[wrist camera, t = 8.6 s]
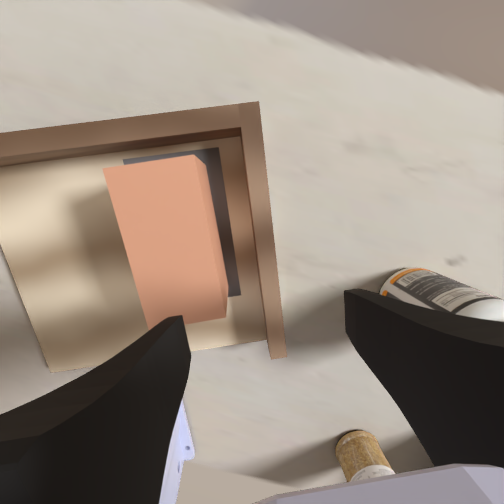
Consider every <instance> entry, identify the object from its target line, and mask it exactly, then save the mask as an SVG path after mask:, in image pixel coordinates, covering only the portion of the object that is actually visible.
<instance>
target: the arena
mask: <svg viewBox="0 0 504 504" xmlns="http://www.w3.org/2000/svg"><path fill="white" fill-rule="evenodd" d="M187 155H195V156H196V157H197V158H198V159H200V160H201V161H202V162H203V163H204V164H205V165H206V168H207V174H208V179H209V184H210V190H211V195H212V200H213V206H214V211H215V216H216V222H217V227H218V232H219V238H220V243H221V248H222V254H223V259H224V264H225V270H226V275H227V280H228V299H227V312H226V318H221V319H215V320H209V321H203V322H198V323H192V324H186V325H185V329H186V334H187V338H188V343H189V348H190V351H196V350H203V349H209V348H216V347H222V346H229V345H235V344H242V343H248V342H255V341H261V340H267V343H268V348H269V352H270V357H271V359H277V358H283V357H287V352H286V343H285V334H284V325H283V316H282V307H281V298H280V289H279V279H278V270H277V261H276V252H275V243H274V234H273V225H272V216H271V207H270V198H269V188H268V179H267V170H266V161H265V152H264V143H263V134H262V125H261V116H260V107H259V101H257V102H249V103H241V104H233V105H224V106H216V107H208V108H200V109H192V110H184V111H176V112H168V113H159V114H151V115H143V116H135V117H127V118H119V119H111V120H102V121H94V122H86V123H78V124H70V125H62V126H54V127H46V128H37V129H29V130H21V131H13V132H5V133H0V245H1V247H2V250H3V252H4V255H5V257H6V260H7V263H8V265H9V268H10V270H11V273H12V275H13V278H14V280H15V283H16V285H17V288H18V291H19V293H20V296H21V298H22V301H23V303H24V306H25V308H26V311H27V313H28V316H29V319H30V321H31V324H32V326H33V329H34V331H35V334H36V336H37V339H38V341H39V344H40V347H41V349H42V352H43V354H44V357H45V359H46V362H47V364H48V367H49V369H50V372H51V373H53V372H60V371H66V370H73V369H79V368H86V367H92V366H99V365H101V364H102V363H104V362H106V361H107V360H109V359H110V358H112V357H113V356H115V355H116V354H118V353H119V352H120V351H122V350H123V349H125V348H126V347H128V346H129V345H130V344H132V343H133V342H135V341H136V340H137V339H139V338H140V337H141V336H143V335H144V334H145V333H146V332H148V331H149V329H148V326H147V322H146V319H145V315H144V312H143V308H142V305H141V301H140V298H139V294H138V291H137V288H136V284H135V281H134V277H133V274H132V270H131V267H130V263H129V260H128V256H127V253H126V249H125V246H124V242H123V239H122V235H121V232H120V228H119V225H118V222H117V218H116V215H115V211H114V208H113V204H112V201H111V197H110V194H109V190H108V187H107V183H106V180H105V176H104V173H103V169H102V168H108V167H115V166H121V165H128V164H134V163H141V162H147V161H154V160H161V159H167V158H174V157H180V156H187Z"/></svg>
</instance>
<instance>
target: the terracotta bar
mask: <svg viewBox="0 0 504 504" xmlns="http://www.w3.org/2000/svg"><path fill="white" fill-rule="evenodd" d="M102 169H103V173H104V176H105V180H106V183H107V187H108V190H109V194H110V197H111V201H112V204H113V208H114V211H115V215H116V218H117V222H118V225H119V228H120V232H121V235H122V239H123V242H124V246H125V249H126V253H127V256H128V260H129V263H130V267H131V270H132V274H133V277H134V281H135V284H136V288H137V291H138V294H139V298H140V301H141V305H142V308H143V312H144V315H145V319H146V322H147V326H148V329H149V330H150V329H152V328H153V327H154V326H156V325H157V324H158V323H160V322H161V321H162V320H164V319H166V318H167V317H171V316H178V315H182V316H183V320H184V325H186V324H192V323H198V322H203V321H209V320H215V319H221V318H226V312H227V299H228V280H227V275H226V270H225V264H224V259H223V254H222V248H221V243H220V238H219V232H218V227H217V222H216V216H215V211H214V206H213V200H212V195H211V190H210V184H209V179H208V174H207V168H206V165H205V164H204V163H203V162H202V161H201V160H200V159H198V158H197V157H196V156H195V155H187V156H180V157H174V158H167V159H161V160H154V161H147V162H141V163H134V164H128V165H121V166H115V167H108V168H102Z"/></svg>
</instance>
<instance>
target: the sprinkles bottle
mask: <svg viewBox="0 0 504 504" xmlns="http://www.w3.org/2000/svg"><path fill="white" fill-rule="evenodd" d="M335 453H336V457H337V459H338V461H339V463H340V464H341V467H342V469H343V472H344V474H345V477H346V480H347V482H352V481H357V480H363V479H369V478H375V477H380V476H386V475H392V474H395V472H394V471H393V470H392V468H391V466H390V464H389V463H388V461H387V459H386V458H385V456H384V454H383V452H382V450H381V449H380V447H379V444H378V441H377V440H376V438H375V436H373V435H372V434H370V433H368V432H366V431H354V432H350V433H348V434H346V435H344V436H343V437H342V438H341V439H340V440H339V442H338V443H337V446H336V449H335Z"/></svg>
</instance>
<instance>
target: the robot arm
mask: <svg viewBox="0 0 504 504" xmlns="http://www.w3.org/2000/svg"><path fill="white" fill-rule="evenodd" d="M344 302H345V327H346V333H347V335H348V337H349V339H350V340H351V342H352V344H353V346H354V347H355V349H356V351H357V352H358V353H359V355H360V356H361V357H362V359H363V360H364V361H365V363H366V364H367V365H368V367H369V368H370V369H371V371H372V372H373V373H374V375H375V376H376V377H377V378H378V380H379V381H380V382H381V384H382V385H383V386H384V388H385V389H386V390H387V391H388V393H389V394H390V395H391V397H392V398H393V400H394V401H395V402H396V404H397V405H398V407H399V408H400V410H401V411H402V413H403V415H404V416H405V418H406V419H407V421H408V422H409V424H410V426H411V427H412V429H413V430H414V432H415V434H416V435H417V437H418V439H419V440H420V442H421V444H422V445H423V447H424V449H425V450H426V452H427V454H428V455H429V457H430V459H431V460H432V462H433V464H434V465H435V467H432V468H426V469H421V470H415V471H409V472H403V473H398V474H392V475H386V476H380V477H375V478H369V479H363V480H357V481H352V482H346V483H340V484H335V485H329V486H323V487H317V488H312V489H306V490H300V491H294V492H289V493H283V494H277V495H274V496H271V497H269V498H266V499H263V500H261V501H258V502H255V503H253V504H504V322H501V321H494V320H487V319H480V318H473V317H467V316H462V315H457V314H452V313H447V312H442V311H438V310H433V309H429V308H425V307H422V306H418V305H414V304H410V303H407V302H404V301H400V300H397V299H394V298H390V297H387V296H384V295H381V294H377V293H374V292H370V291H367V290H362V289H352V290H345V291H344ZM190 361H191V352H190V348H189V343H188V338H187V334H186V329H185V325H184V320H183V316H182V315H178V316H171V317H167V318H166V319H164V320H162V321H161V322H160V323H158V324H157V325H156V326H154V327H153V328H152V329H150V330H149V331H148V332H146V333H145V334H144V335H143V336H141V337H140V338H139V339H137V340H136V341H135V342H133V343H132V344H130V345H129V346H128V347H126V348H125V349H123V350H122V351H120V352H119V353H118V354H116V355H115V356H113V357H112V358H110V359H109V360H107V361H106V362H104V363H102V364H101V365H99V366H98V367H96V368H94V369H93V370H91V371H89V372H87V373H86V374H84V375H82V376H80V377H79V378H77V379H75V380H73V381H71V382H69V383H67V384H65V385H63V386H61V387H59V388H57V389H56V390H54V391H52V392H50V393H48V394H46V395H44V396H41V397H39V398H37V399H35V400H33V401H31V402H28V403H26V404H24V405H22V406H19V407H17V408H15V409H13V410H10V411H8V412H6V413H3V414H1V415H0V504H176V500H177V495H178V489H179V484H180V479H181V474H182V469H183V463H184V461H186V460H191V459H193V458H194V456H195V450H194V446H193V441H192V437H191V433H190V429H189V425H188V421H187V417H186V413H185V409H184V405H183V401H182V398H183V394H184V390H185V387H186V383H187V380H188V375H189V369H190Z"/></svg>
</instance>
